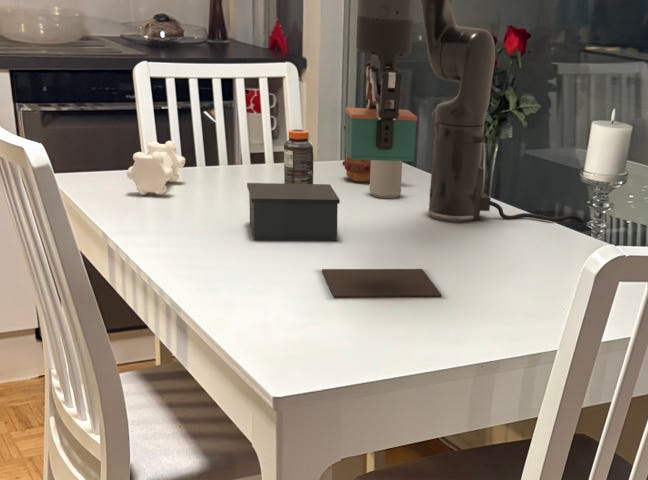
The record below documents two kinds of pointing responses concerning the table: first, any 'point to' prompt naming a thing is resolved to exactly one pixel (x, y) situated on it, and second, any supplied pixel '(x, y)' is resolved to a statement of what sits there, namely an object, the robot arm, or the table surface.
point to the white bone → (155, 167)
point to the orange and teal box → (364, 136)
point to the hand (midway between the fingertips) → (379, 144)
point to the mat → (379, 283)
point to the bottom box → (293, 211)
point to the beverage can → (385, 178)
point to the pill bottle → (298, 158)
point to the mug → (357, 169)
